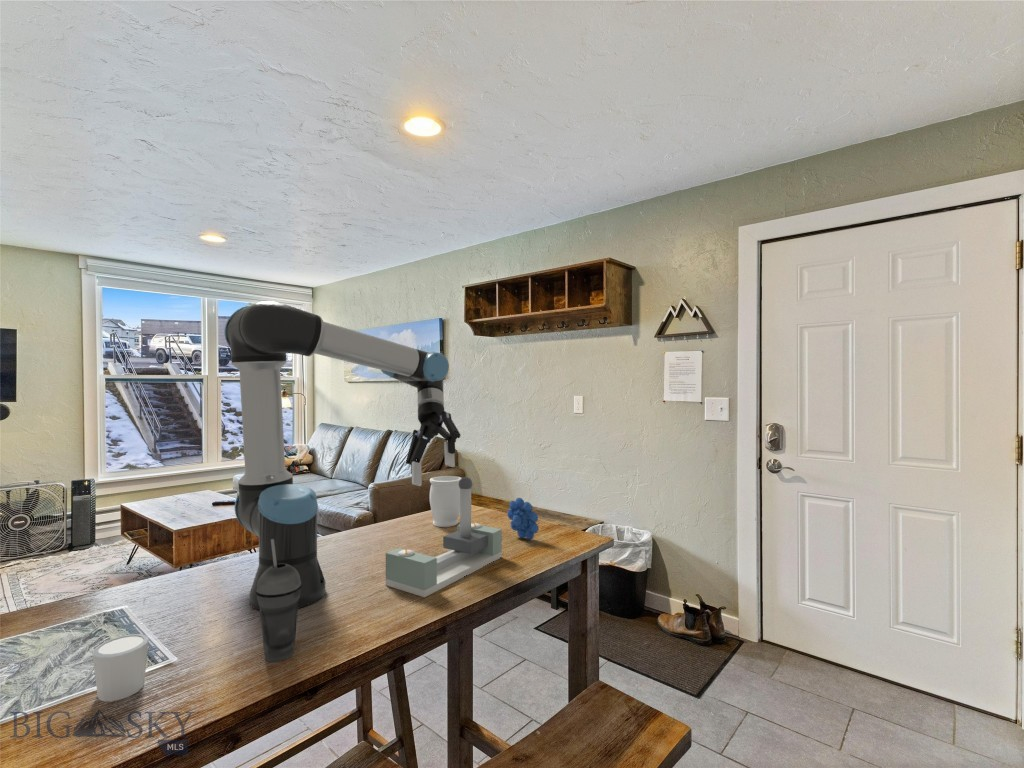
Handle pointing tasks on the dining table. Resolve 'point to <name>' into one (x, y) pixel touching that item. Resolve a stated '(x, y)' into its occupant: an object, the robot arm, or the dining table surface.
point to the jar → (445, 500)
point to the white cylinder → (120, 666)
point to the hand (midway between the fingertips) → (433, 475)
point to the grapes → (523, 518)
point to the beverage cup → (278, 608)
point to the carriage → (465, 525)
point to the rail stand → (439, 564)
